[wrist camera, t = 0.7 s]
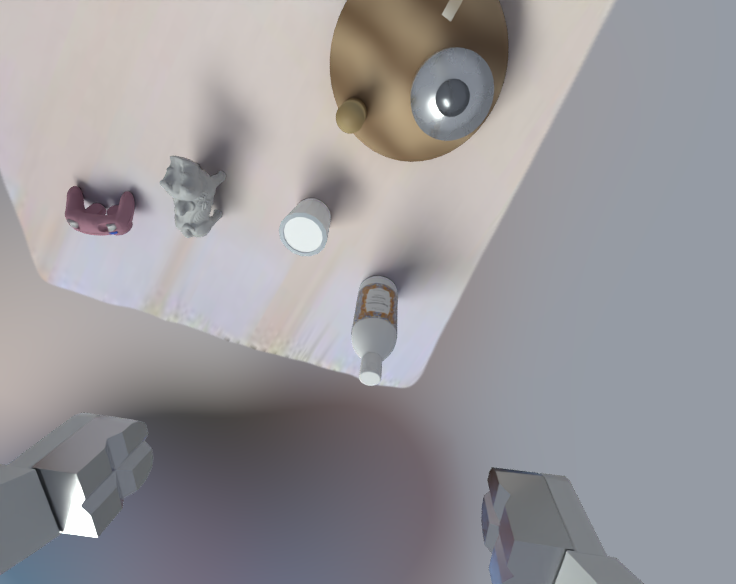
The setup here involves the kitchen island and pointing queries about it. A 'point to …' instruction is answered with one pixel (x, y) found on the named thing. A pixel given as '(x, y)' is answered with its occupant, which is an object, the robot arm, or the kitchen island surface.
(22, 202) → the kitchen island surface
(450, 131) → the cover
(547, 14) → the kitchen island surface
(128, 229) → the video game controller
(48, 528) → the robot arm
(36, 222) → the kitchen island surface
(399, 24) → the turntable
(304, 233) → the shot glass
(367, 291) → the bath foam
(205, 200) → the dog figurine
